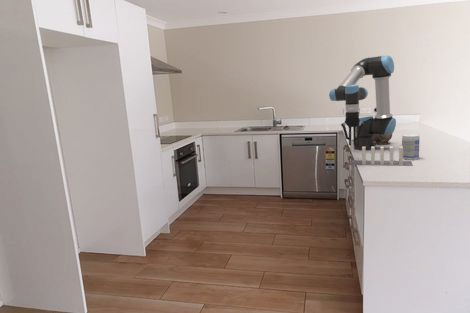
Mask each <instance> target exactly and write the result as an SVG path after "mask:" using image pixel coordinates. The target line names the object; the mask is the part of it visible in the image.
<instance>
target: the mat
mask: <svg viewBox="0 0 470 313" xmlns="http://www.w3.org/2000/svg"><path fill="white" fill-rule="evenodd" d="M349 166H363V165H362V159H361V160H360V159H357V160H353V159H351V160H350V162H349ZM364 166H372V165H371V159H370V160H367V159H366V164H365V165H364ZM373 166H386V167H389V166H390V167H391V166H392V167H394V166H395V167H413V166H414V165H413V162H412V160H403V165H399V160H393V165H390V160H384V165H380V160H375V164H374V165H373Z"/></svg>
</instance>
